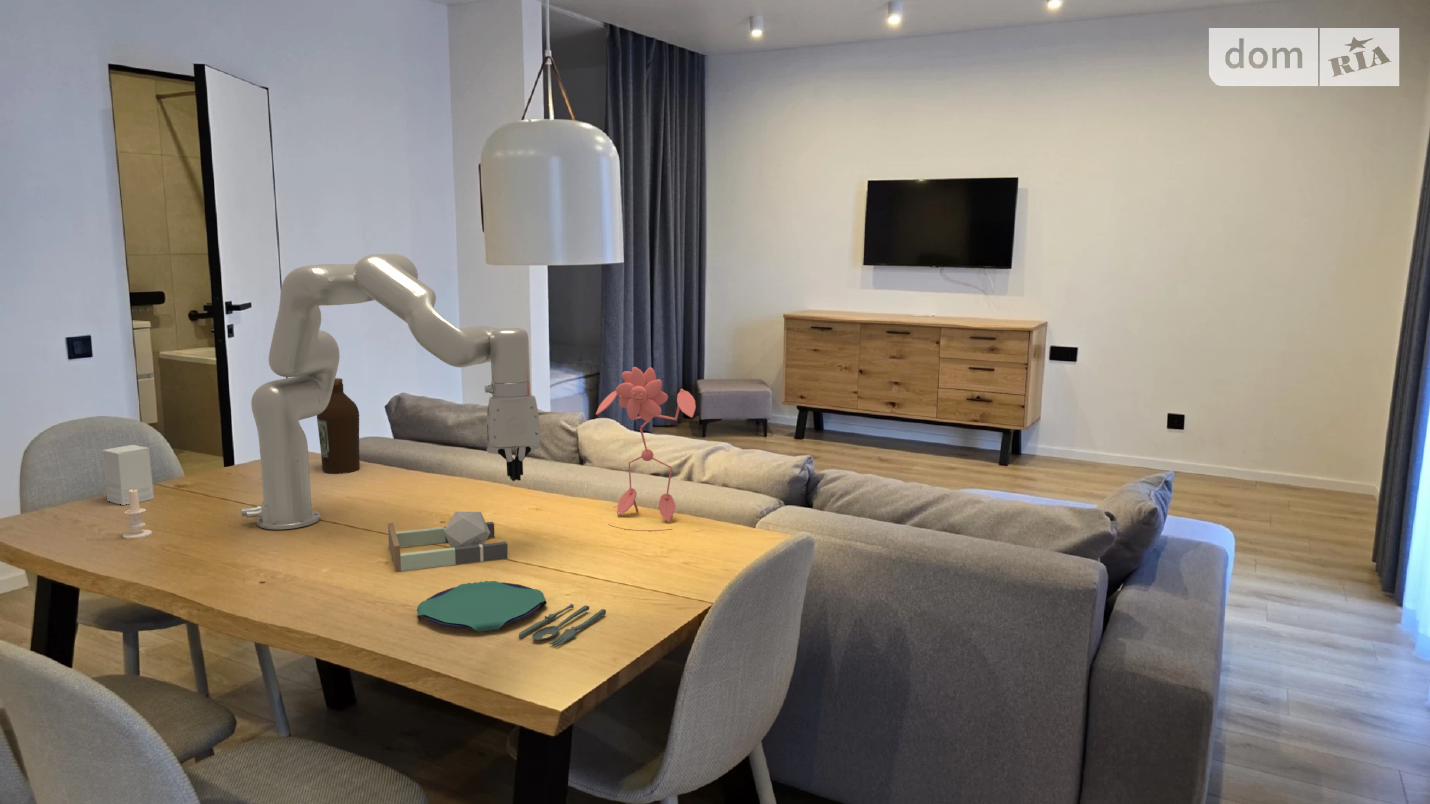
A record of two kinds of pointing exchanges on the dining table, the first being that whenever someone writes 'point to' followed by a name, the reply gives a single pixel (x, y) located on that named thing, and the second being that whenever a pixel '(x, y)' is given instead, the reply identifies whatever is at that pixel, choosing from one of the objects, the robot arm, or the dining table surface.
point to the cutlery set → (496, 609)
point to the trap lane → (439, 555)
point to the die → (466, 529)
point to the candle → (135, 518)
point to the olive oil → (339, 433)
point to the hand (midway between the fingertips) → (515, 479)
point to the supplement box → (127, 473)
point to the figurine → (644, 400)
